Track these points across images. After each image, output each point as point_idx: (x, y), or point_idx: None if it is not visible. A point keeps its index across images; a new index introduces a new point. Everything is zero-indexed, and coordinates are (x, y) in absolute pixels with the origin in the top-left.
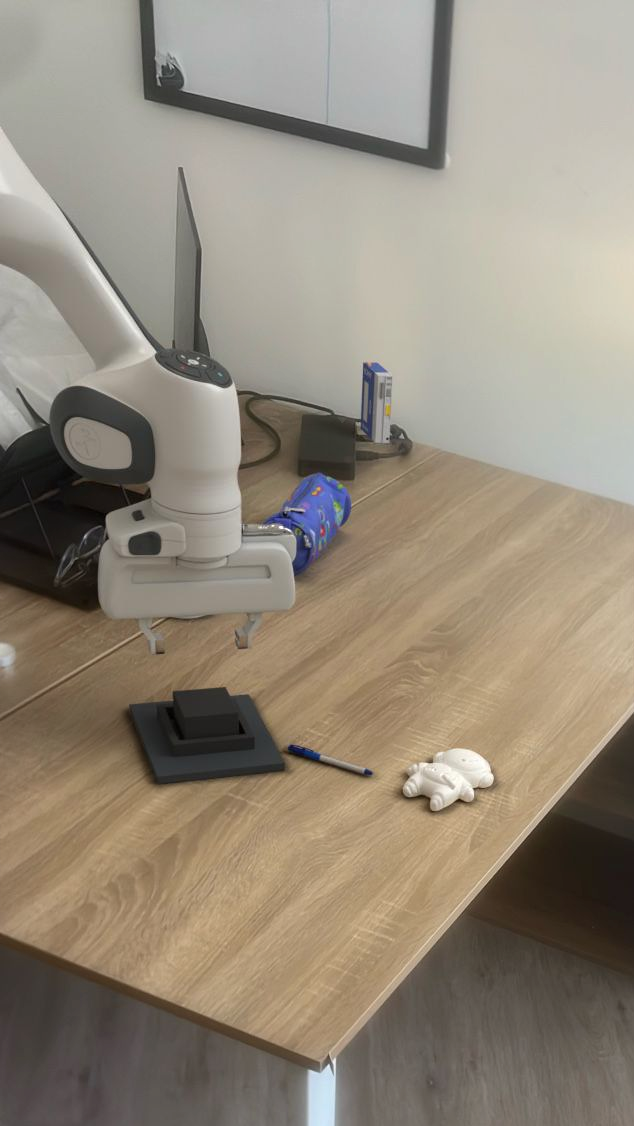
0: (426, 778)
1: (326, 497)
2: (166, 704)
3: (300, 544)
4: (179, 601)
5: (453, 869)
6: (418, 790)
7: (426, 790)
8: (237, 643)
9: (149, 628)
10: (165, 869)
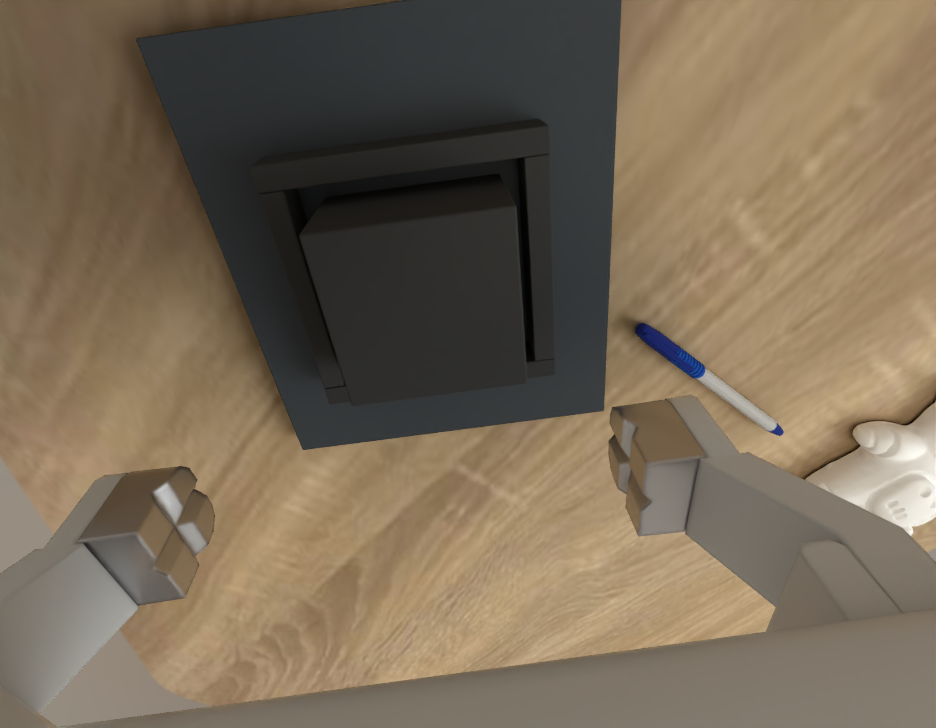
0: (868, 507)
1: None
2: (285, 166)
3: None
4: None
5: (753, 621)
6: None
7: None
8: (617, 460)
9: (42, 608)
10: (341, 617)
